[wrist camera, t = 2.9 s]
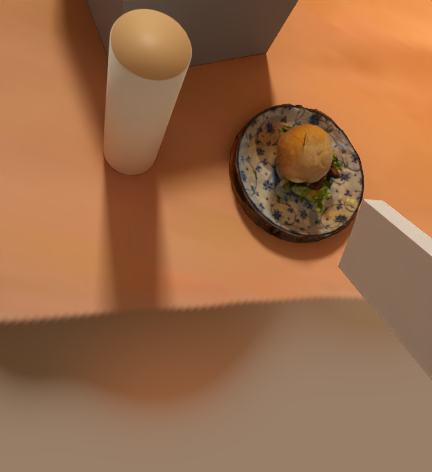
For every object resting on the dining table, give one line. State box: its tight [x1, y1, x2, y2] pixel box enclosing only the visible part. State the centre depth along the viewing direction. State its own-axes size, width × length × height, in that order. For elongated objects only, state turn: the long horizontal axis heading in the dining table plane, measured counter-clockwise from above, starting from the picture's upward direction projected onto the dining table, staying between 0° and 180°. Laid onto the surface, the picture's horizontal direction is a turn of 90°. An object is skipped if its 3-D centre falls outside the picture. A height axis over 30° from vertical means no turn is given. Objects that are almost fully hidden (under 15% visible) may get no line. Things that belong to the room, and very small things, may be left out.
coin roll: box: [103, 9, 192, 175], centre depth 25 cm, size 4×4×12 cm
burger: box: [229, 104, 364, 243], centre depth 31 cm, size 12×12×8 cm
